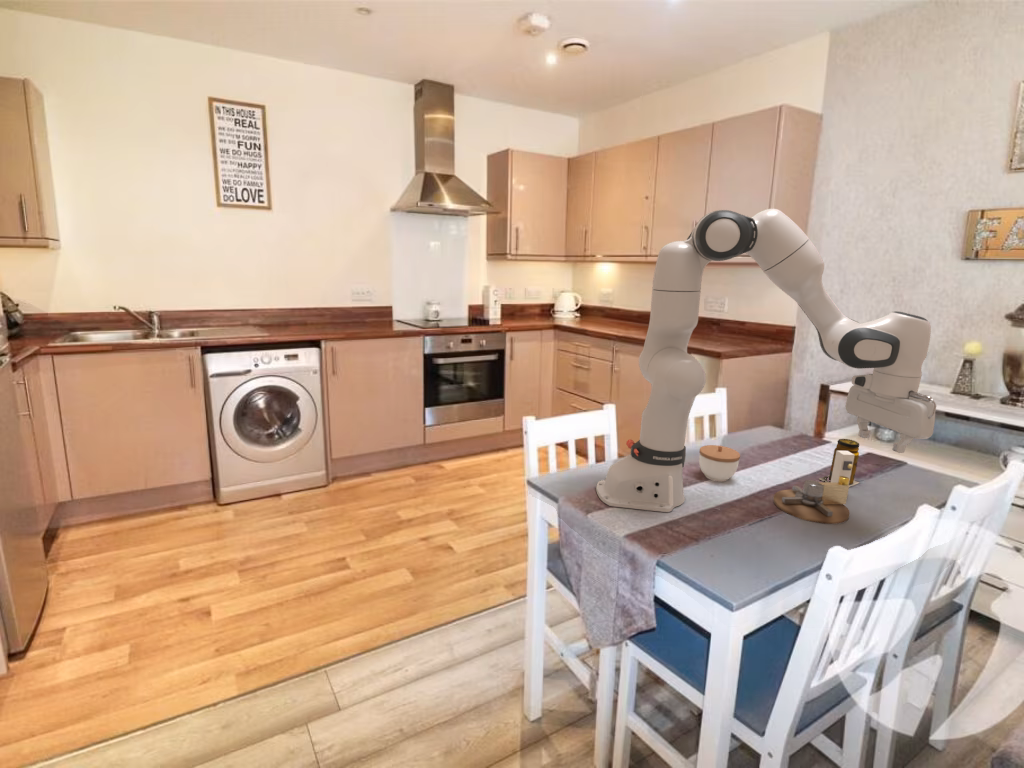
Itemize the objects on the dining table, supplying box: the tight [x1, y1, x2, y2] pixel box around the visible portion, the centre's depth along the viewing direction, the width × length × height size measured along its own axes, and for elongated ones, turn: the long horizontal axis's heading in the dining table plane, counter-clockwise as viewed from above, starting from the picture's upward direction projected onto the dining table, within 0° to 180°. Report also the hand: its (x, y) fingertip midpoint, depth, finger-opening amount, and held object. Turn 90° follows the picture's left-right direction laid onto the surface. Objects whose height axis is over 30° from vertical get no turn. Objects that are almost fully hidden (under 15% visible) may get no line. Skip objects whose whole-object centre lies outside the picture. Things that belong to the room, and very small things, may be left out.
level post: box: [831, 451, 855, 485], centre depth 145 cm, size 3×4×12 cm
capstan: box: [782, 476, 850, 516], centre depth 138 cm, size 15×16×7 cm
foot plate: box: [772, 489, 850, 525], centre depth 139 cm, size 17×17×1 cm
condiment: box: [818, 438, 860, 488], centre depth 154 cm, size 7×8×12 cm
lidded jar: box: [698, 444, 741, 483], centre depth 154 cm, size 11×11×9 cm
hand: (880, 444), depth 125 cm, fingers open, 8 cm apart
